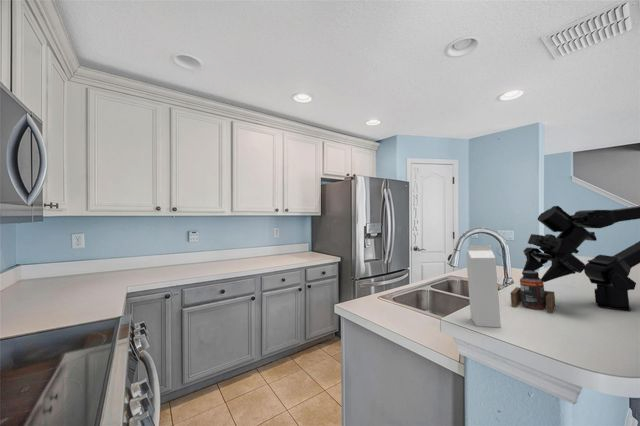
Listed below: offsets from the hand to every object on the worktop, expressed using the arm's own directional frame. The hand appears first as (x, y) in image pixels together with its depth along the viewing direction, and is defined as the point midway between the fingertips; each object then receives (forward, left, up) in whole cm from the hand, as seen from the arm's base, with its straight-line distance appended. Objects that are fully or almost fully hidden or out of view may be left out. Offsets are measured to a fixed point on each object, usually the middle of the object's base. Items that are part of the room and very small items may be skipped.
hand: (532, 277), depth 83 cm
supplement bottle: (0, 0, -10) cm, 10 cm away
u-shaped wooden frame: (0, 0, -9) cm, 9 cm away
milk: (+8, +23, -10) cm, 26 cm away
